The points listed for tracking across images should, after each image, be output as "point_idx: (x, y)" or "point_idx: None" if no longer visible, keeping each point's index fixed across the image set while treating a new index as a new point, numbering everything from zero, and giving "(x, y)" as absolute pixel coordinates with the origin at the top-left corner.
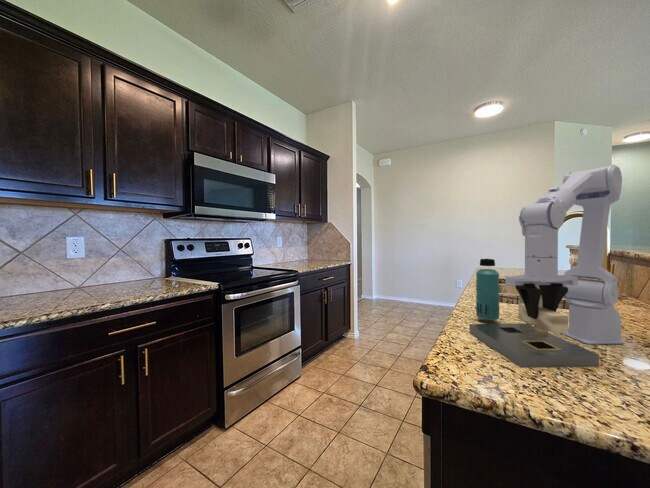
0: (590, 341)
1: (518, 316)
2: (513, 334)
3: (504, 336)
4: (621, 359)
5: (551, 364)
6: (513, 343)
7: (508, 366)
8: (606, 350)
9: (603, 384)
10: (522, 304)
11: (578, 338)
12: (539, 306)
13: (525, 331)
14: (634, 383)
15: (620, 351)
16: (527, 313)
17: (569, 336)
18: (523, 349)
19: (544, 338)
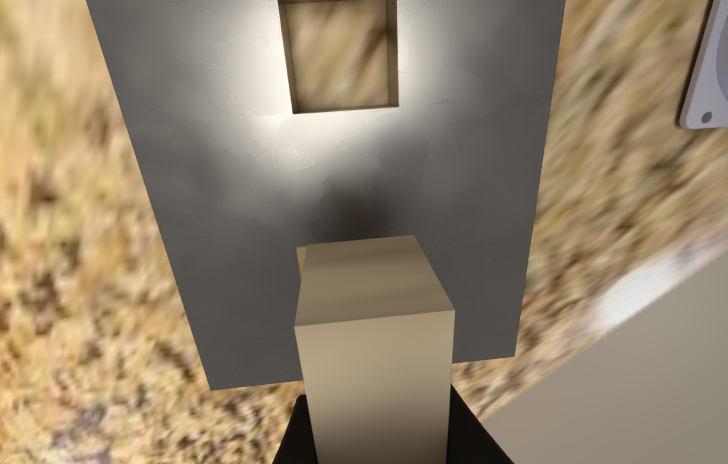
0: (716, 115)
1: (306, 250)
2: (314, 143)
3: (241, 181)
4: (633, 266)
5: None
6: (243, 277)
7: (186, 349)
8: (681, 188)
9: None
10: (312, 366)
11: (708, 69)
12: (438, 417)
13: (427, 81)
14: (490, 399)
15: (722, 195)
16: (293, 415)
17: (711, 14)
18: (255, 337)
19: (449, 202)
